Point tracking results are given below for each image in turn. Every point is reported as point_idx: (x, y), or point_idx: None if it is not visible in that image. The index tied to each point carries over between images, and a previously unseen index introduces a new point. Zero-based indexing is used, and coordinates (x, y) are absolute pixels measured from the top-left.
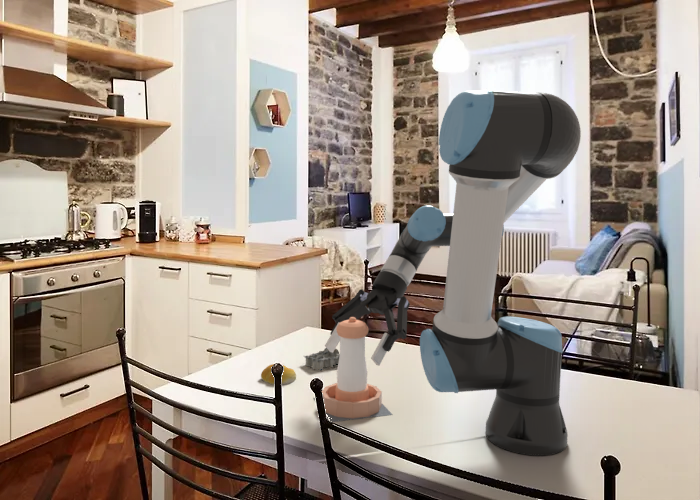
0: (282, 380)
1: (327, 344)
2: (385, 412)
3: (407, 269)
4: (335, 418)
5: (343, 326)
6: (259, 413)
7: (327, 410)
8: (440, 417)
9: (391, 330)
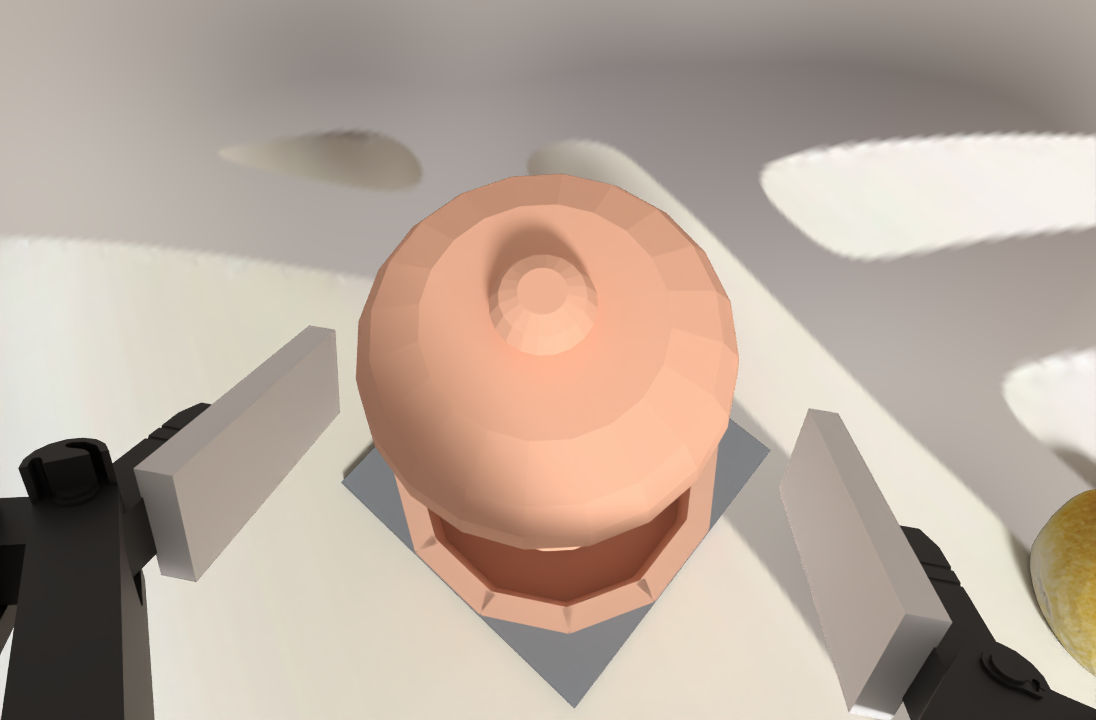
0: (1060, 522)
1: (820, 419)
2: (380, 485)
3: None
4: None
5: (573, 178)
6: (839, 213)
7: None
8: None
9: (42, 451)
